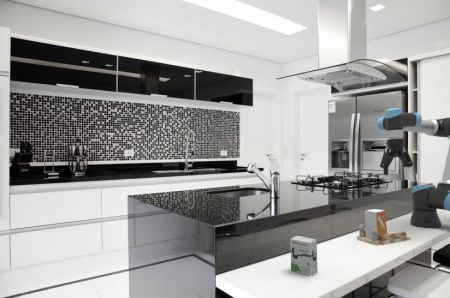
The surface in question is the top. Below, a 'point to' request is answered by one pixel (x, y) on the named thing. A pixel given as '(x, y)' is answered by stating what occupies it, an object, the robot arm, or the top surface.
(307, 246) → the ink box
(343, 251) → the top surface
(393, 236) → the board
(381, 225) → the small box
